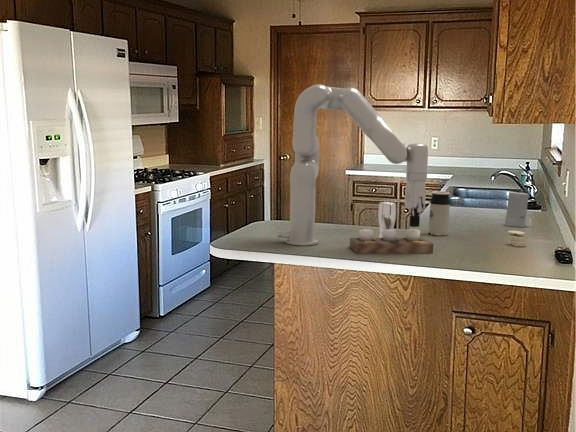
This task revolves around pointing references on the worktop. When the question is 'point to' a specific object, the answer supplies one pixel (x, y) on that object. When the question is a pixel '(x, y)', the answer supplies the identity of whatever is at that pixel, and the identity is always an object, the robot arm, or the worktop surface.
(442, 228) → the travel mug
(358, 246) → the button board
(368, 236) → the button left
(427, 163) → the robot arm
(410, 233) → the button right
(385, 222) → the beer glass
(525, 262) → the worktop surface
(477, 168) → the worktop surface
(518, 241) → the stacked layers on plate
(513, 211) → the skincare box
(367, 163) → the worktop surface
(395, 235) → the button middle
